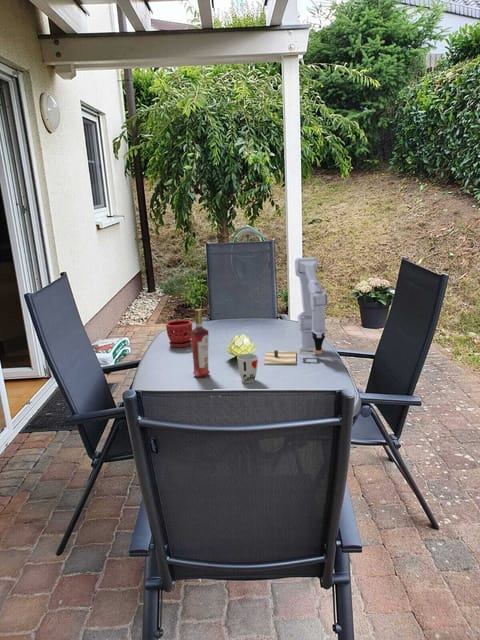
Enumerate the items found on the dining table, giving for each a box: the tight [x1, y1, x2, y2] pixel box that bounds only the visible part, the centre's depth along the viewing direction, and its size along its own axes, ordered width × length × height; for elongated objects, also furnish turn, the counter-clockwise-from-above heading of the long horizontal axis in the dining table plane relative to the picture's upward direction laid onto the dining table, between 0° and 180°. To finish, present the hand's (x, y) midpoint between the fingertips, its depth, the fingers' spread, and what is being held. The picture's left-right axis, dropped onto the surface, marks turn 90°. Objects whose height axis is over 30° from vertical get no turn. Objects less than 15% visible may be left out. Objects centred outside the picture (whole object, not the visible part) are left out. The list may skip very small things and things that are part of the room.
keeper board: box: [263, 349, 297, 366], centre depth 217 cm, size 18×14×4 cm
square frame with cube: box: [298, 347, 323, 356], centre depth 214 cm, size 10×7×5 cm
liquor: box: [190, 308, 211, 378], centre depth 195 cm, size 7×7×28 cm
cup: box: [236, 353, 259, 384], centre depth 189 cm, size 8×8×10 cm
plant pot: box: [165, 320, 193, 348], centre depth 242 cm, size 13×13×12 cm
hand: (318, 349), depth 214 cm, fingers closed on square frame with cube, 3 cm apart
